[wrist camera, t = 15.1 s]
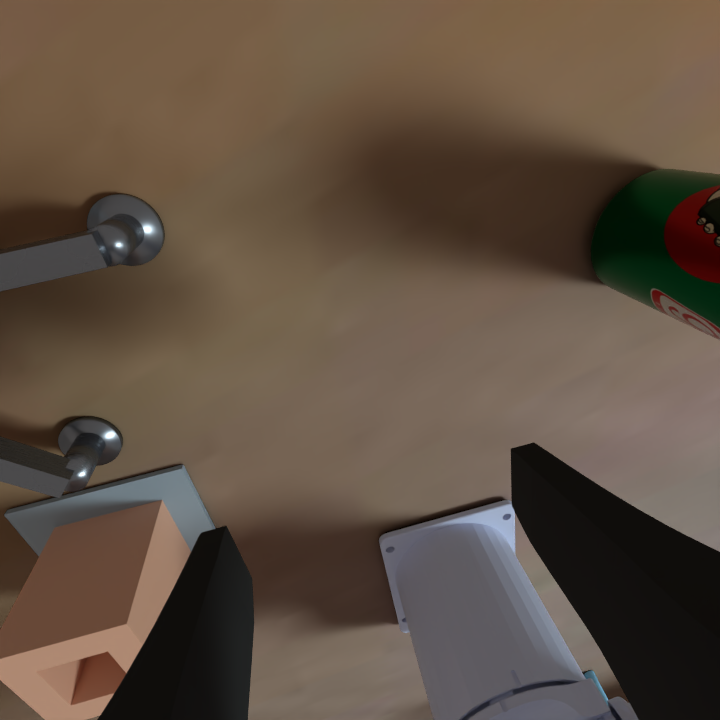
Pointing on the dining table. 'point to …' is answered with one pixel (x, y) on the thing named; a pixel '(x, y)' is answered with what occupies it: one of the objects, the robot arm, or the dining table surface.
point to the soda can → (665, 245)
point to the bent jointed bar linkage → (56, 260)
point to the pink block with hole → (90, 609)
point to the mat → (116, 506)
